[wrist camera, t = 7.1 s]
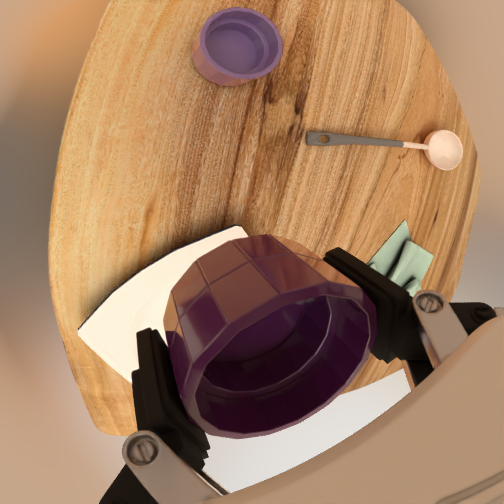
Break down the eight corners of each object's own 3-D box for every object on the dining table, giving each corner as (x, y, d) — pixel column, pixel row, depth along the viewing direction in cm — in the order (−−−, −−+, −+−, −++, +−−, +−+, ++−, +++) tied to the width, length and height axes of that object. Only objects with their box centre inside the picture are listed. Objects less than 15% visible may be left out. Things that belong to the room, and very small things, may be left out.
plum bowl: (149, 362, 10) (164, 443, 7) (191, 208, 9) (228, 260, 5) (279, 367, 13) (318, 424, 10) (338, 251, 12) (405, 296, 8)
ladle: (447, 167, 35) (468, 174, 31) (291, 161, 30) (308, 168, 26) (450, 131, 32) (472, 136, 28) (291, 108, 27) (308, 107, 23)
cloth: (329, 288, 35) (340, 297, 33) (426, 197, 36) (438, 201, 34) (360, 355, 45) (368, 362, 43) (434, 279, 47) (442, 284, 45)
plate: (301, 331, 36) (311, 343, 34) (177, 406, 33) (181, 421, 31) (234, 201, 25) (244, 208, 23) (67, 314, 23) (63, 330, 20)
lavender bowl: (177, 71, 19) (185, 58, 15) (209, 14, 17) (222, -5, 14) (246, 98, 22) (264, 92, 18) (272, 43, 20) (293, 31, 17)
